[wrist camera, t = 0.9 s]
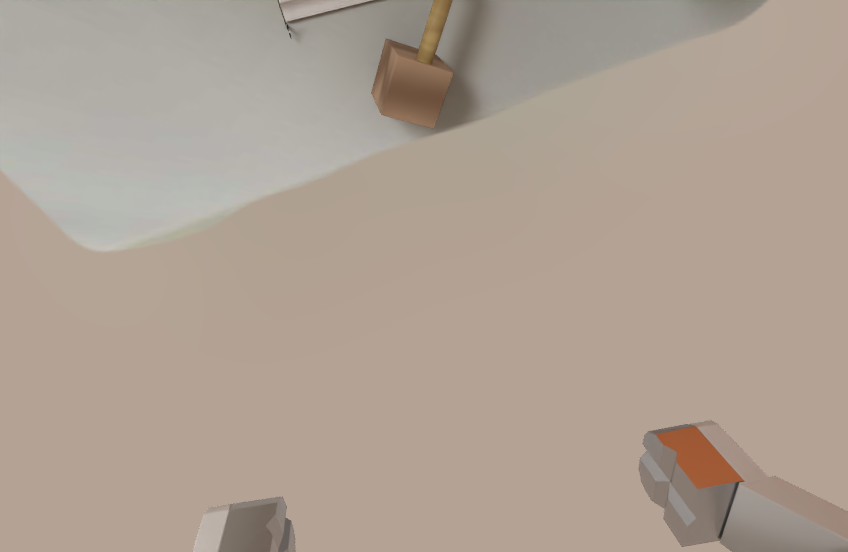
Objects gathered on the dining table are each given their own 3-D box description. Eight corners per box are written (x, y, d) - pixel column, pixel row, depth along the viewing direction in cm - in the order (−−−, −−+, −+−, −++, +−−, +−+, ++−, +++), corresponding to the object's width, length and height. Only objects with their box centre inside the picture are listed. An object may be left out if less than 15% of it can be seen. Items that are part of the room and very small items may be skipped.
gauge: (411, -57, 40) (428, -50, 35) (465, -35, 42) (488, -26, 37) (371, 92, 46) (381, 114, 42) (419, 106, 48) (433, 128, 44)
